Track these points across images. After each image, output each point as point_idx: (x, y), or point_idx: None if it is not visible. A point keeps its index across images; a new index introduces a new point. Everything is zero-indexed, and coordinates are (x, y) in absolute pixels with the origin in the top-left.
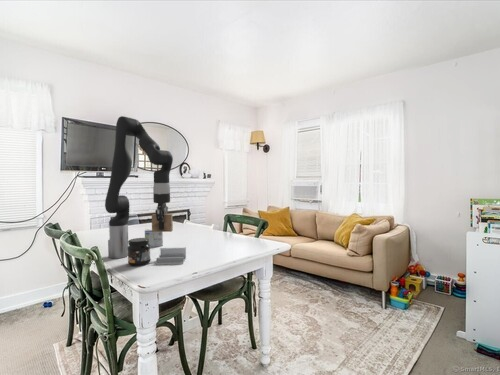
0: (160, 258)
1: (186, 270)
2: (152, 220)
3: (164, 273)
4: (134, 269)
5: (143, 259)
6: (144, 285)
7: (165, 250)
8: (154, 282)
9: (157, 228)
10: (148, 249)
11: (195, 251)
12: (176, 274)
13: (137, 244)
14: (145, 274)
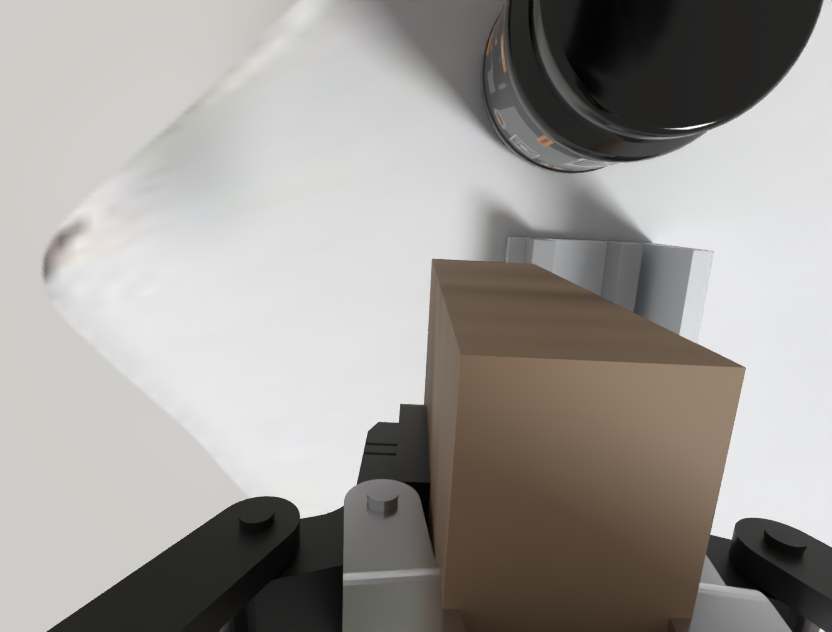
0: None
1: (340, 473)
2: (440, 321)
3: (292, 343)
4: (409, 87)
5: (507, 128)
6: (74, 265)
7: (672, 299)
8: (125, 315)
9: (428, 376)
10: (578, 156)
11: (821, 484)
12: (266, 423)
13: (533, 19)
14: (282, 213)
